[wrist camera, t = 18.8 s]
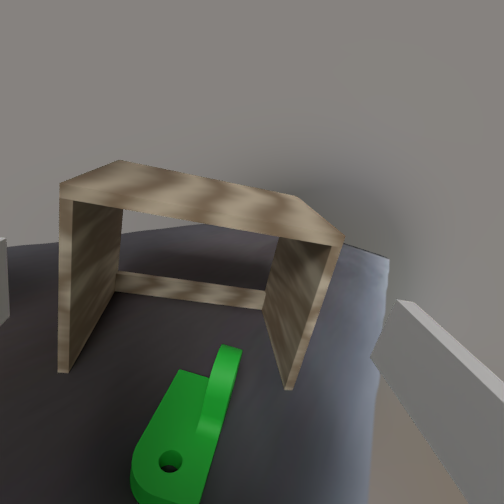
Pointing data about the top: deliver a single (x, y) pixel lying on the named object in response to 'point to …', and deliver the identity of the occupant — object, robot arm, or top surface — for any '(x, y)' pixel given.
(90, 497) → the top surface
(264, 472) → the top surface
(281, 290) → the cubby box
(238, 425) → the top surface
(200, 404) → the mechanical part
